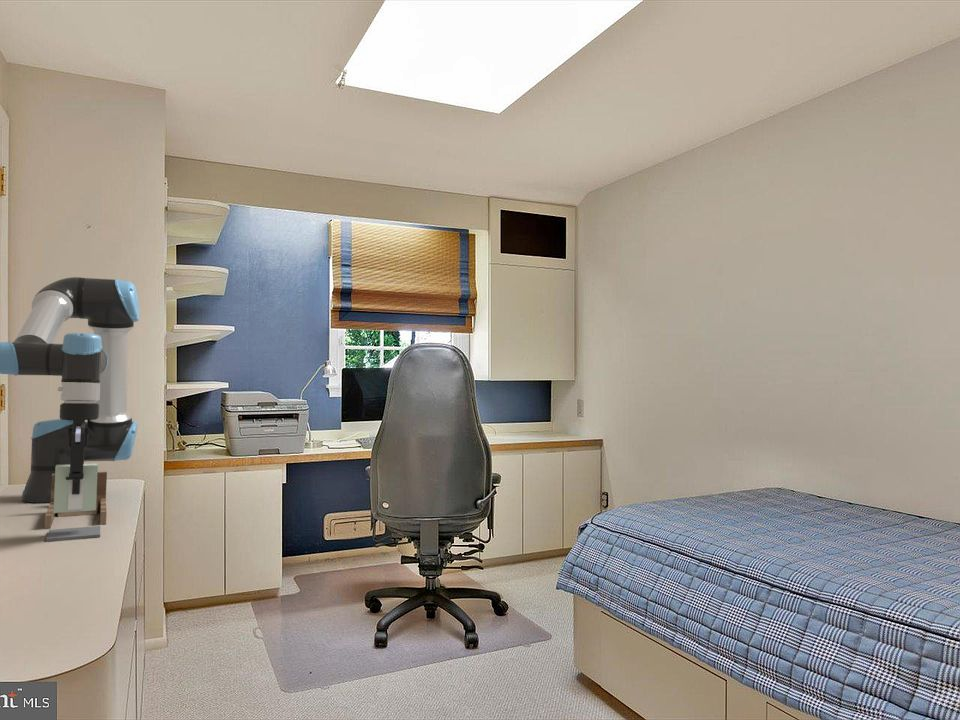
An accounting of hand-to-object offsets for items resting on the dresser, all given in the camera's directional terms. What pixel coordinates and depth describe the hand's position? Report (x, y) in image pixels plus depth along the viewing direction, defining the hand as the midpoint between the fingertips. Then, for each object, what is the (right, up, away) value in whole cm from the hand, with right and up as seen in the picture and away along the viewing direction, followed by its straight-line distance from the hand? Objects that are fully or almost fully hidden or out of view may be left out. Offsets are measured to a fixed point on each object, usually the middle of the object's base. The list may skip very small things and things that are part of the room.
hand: (75, 507), depth 149 cm
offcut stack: (-14, -7, +24) cm, 28 cm away
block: (0, -1, 0) cm, 1 cm away
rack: (-10, -7, +18) cm, 22 cm away
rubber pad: (0, -6, 0) cm, 6 cm away
